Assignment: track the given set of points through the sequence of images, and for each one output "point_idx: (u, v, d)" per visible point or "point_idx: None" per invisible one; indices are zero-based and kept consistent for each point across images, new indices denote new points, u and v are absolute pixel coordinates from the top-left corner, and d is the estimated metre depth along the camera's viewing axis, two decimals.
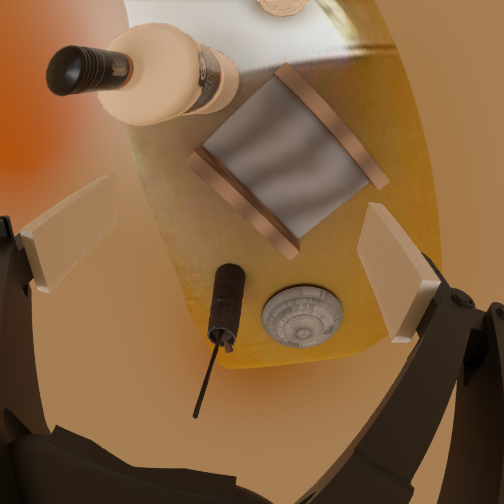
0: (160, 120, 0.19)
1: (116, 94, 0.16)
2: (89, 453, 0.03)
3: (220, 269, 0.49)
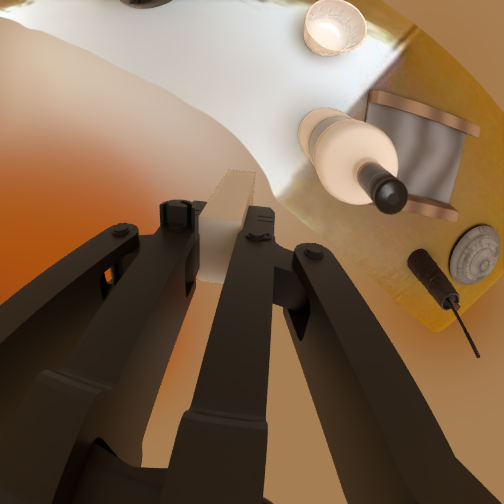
0: None
1: None
2: (89, 453, 0.03)
3: (411, 259, 0.52)
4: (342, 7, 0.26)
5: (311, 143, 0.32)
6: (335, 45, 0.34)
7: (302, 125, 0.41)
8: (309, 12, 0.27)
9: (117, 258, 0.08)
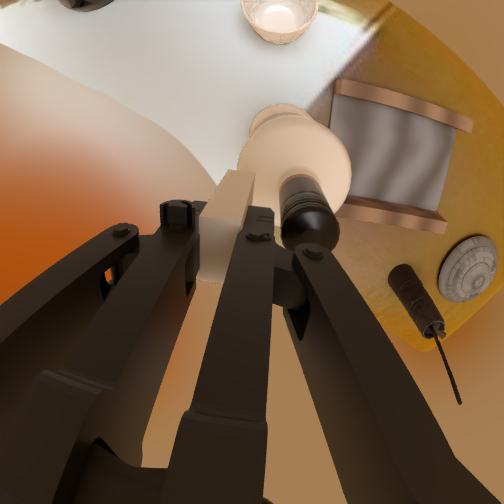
0: None
1: None
2: (89, 453, 0.03)
3: (391, 276, 0.47)
4: None
5: None
6: (290, 30, 0.29)
7: (252, 126, 0.35)
8: None
9: (117, 258, 0.08)
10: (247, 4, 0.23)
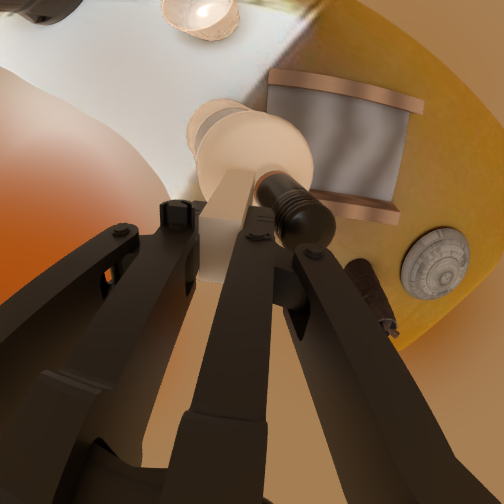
0: None
1: None
2: (89, 453, 0.03)
3: (346, 271, 0.47)
4: None
5: (196, 148, 0.25)
6: None
7: (189, 124, 0.33)
8: None
9: (117, 258, 0.08)
10: (171, 7, 0.23)
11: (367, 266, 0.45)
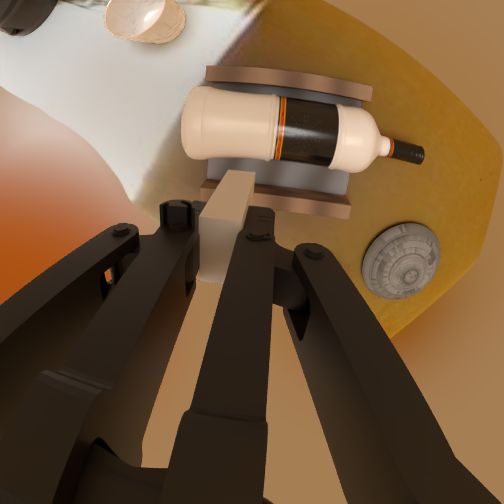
0: None
1: None
2: (89, 453, 0.03)
3: None
4: None
5: (304, 121, 0.29)
6: None
7: (207, 102, 0.28)
8: (109, 6, 0.21)
9: (117, 258, 0.08)
10: (116, 16, 0.24)
11: None
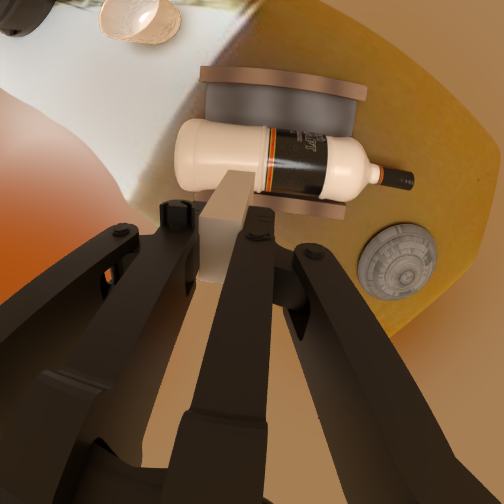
0: None
1: None
2: (89, 453, 0.03)
3: None
4: None
5: (290, 184, 0.33)
6: None
7: (196, 172, 0.32)
8: (104, 8, 0.21)
9: (117, 258, 0.08)
10: (111, 17, 0.24)
11: None
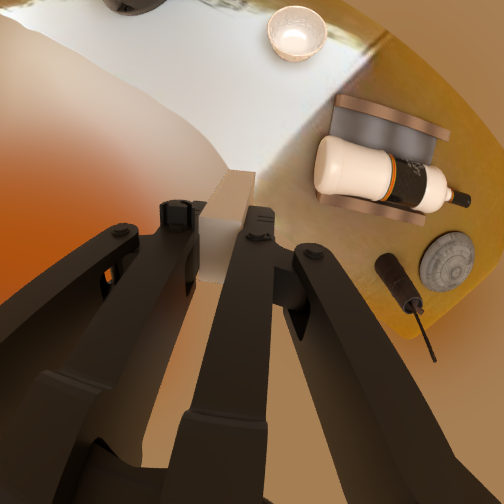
0: None
1: None
2: (89, 453, 0.03)
3: (377, 263, 0.55)
4: (306, 14, 0.30)
5: (401, 197, 0.41)
6: (302, 51, 0.37)
7: (341, 180, 0.40)
8: (272, 20, 0.29)
9: (117, 258, 0.08)
10: (271, 29, 0.32)
11: (395, 259, 0.53)
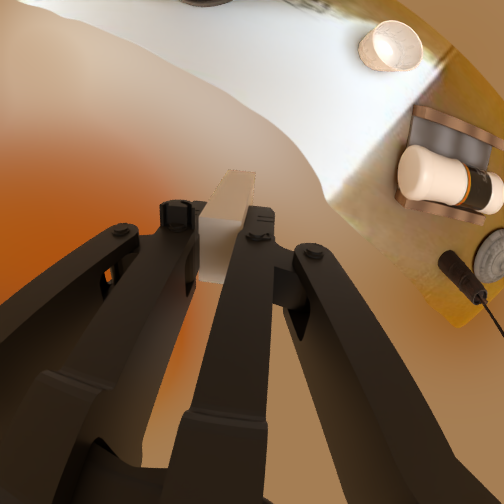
0: None
1: None
2: (89, 453, 0.03)
3: (441, 260, 0.54)
4: (400, 28, 0.28)
5: (472, 202, 0.39)
6: (387, 61, 0.36)
7: (431, 188, 0.38)
8: (375, 31, 0.28)
9: (117, 258, 0.08)
10: None
11: (457, 256, 0.52)
